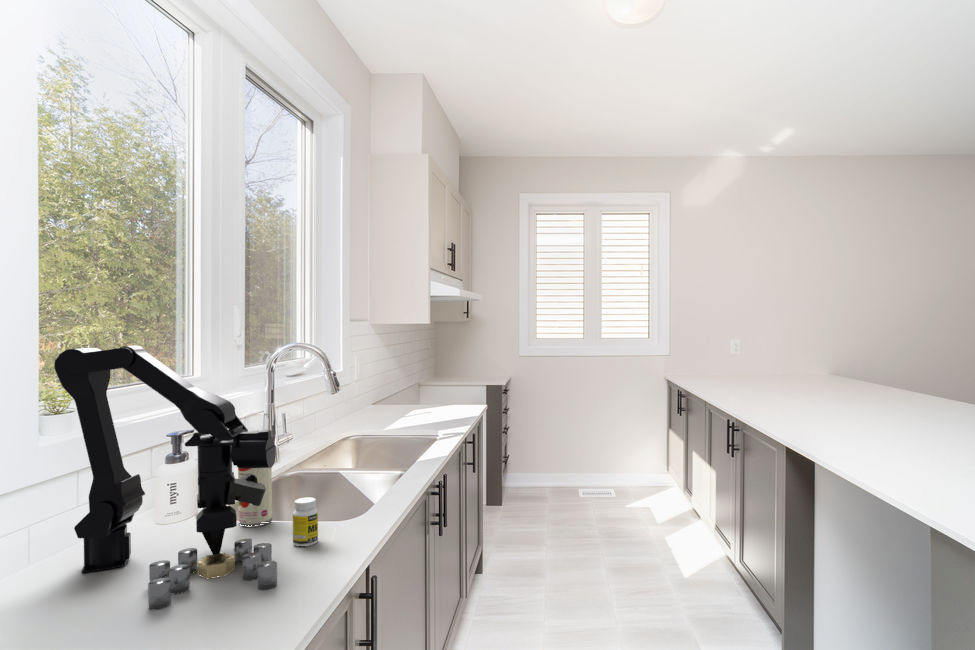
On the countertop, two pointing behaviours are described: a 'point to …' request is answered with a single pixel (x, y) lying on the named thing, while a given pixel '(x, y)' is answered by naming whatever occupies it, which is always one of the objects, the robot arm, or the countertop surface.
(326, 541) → the countertop surface
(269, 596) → the countertop surface
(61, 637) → the countertop surface
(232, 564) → the wooden star-faceted hexagon
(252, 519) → the aerosol can
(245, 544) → the spacers
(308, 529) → the supplement bottle
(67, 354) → the robot arm
